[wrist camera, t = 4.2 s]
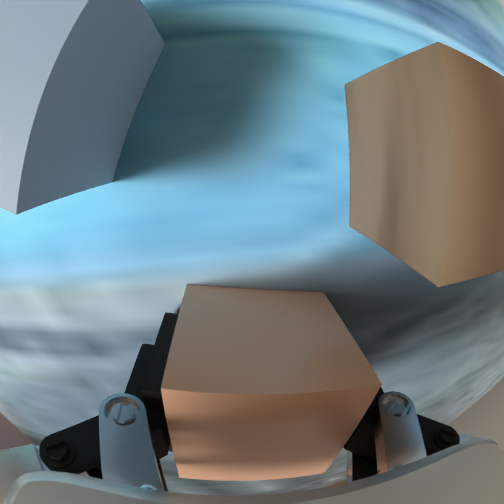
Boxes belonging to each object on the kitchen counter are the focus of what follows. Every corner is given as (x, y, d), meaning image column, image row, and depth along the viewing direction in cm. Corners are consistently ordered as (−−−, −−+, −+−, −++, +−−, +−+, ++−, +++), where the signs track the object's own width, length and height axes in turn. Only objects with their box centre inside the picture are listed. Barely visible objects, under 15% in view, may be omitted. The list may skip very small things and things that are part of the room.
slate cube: (166, 45, 7) (116, -38, 2) (113, 182, 8) (16, 214, 3) (58, 35, 6) (-18, -5, 1) (16, 152, 7) (-77, 168, 2)
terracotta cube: (322, 290, 10) (381, 384, 6) (297, 383, 12) (323, 472, 7) (187, 283, 10) (160, 388, 5) (188, 381, 11) (179, 477, 7)
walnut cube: (446, 105, 8) (539, 102, 3) (445, 220, 10) (532, 261, 5) (343, 85, 8) (438, 41, 3) (348, 225, 9) (438, 287, 5)
